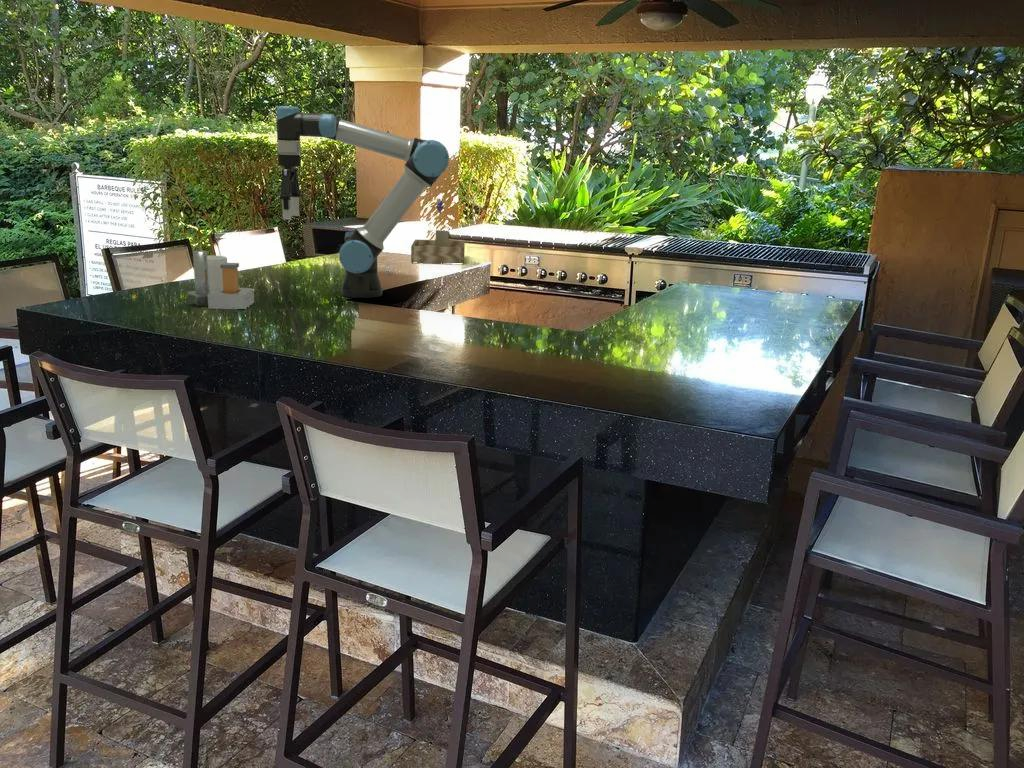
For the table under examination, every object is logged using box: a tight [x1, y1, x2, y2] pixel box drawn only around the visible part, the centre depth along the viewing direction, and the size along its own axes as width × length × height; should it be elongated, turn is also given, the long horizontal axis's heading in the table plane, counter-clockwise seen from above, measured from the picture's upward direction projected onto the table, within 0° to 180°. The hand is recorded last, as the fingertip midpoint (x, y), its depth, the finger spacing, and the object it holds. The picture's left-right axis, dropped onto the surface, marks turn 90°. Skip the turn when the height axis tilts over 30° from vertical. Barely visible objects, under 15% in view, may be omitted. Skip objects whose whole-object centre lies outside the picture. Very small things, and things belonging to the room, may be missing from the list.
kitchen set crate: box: [410, 239, 466, 265], centre depth 412 cm, size 24×26×8 cm
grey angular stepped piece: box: [187, 250, 255, 310], centre depth 292 cm, size 20×24×18 cm
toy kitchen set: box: [425, 229, 453, 247], centre depth 412 cm, size 18×17×15 cm
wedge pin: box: [220, 262, 240, 293], centre depth 287 cm, size 5×5×14 cm
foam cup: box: [207, 255, 228, 291], centre depth 308 cm, size 10×9×13 cm
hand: (291, 217), depth 295 cm, fingers open, 13 cm apart
